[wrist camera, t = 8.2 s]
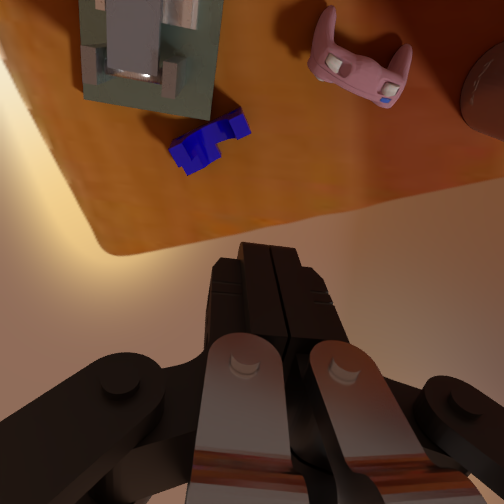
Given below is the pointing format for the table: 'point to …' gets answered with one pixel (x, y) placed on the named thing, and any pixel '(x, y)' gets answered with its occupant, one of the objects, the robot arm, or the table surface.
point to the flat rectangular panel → (134, 39)
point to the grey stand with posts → (171, 59)
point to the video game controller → (357, 66)
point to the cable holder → (208, 141)
